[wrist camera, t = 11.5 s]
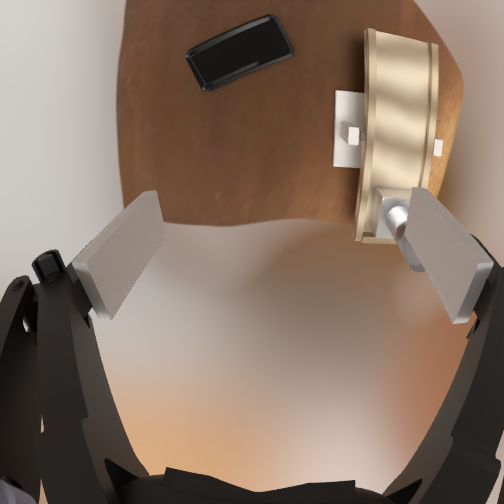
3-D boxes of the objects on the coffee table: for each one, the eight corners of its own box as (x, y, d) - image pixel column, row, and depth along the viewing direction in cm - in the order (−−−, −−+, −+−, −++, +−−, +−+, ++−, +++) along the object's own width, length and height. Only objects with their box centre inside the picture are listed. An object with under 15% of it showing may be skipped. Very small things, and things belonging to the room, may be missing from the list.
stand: (334, 90, 36) (343, 90, 31) (429, 104, 35) (450, 109, 29) (329, 213, 47) (334, 233, 42) (413, 218, 46) (428, 237, 40)
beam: (357, 33, 28) (366, 27, 24) (425, 47, 27) (441, 45, 23) (347, 226, 44) (353, 242, 40) (406, 229, 43) (417, 245, 39)
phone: (183, 53, 35) (274, 12, 30) (185, 53, 36) (274, 13, 31) (204, 94, 38) (297, 55, 34) (206, 94, 39) (296, 56, 35)
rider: (374, 186, 37) (406, 230, 26) (411, 189, 36) (453, 233, 25) (368, 224, 40) (394, 278, 29) (404, 226, 39) (437, 279, 28)
